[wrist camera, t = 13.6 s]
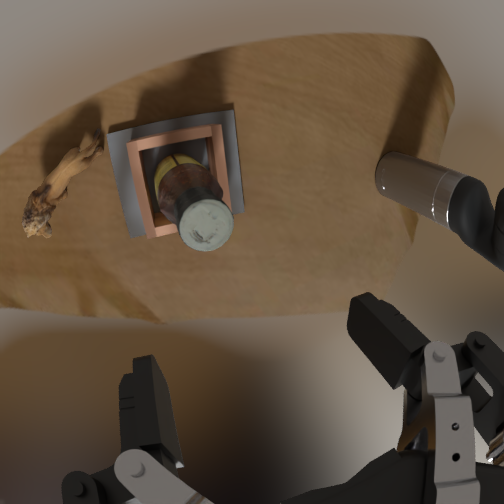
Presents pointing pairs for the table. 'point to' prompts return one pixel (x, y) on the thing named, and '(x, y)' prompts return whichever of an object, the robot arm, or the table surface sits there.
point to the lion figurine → (55, 189)
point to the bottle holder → (162, 145)
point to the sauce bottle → (193, 202)
